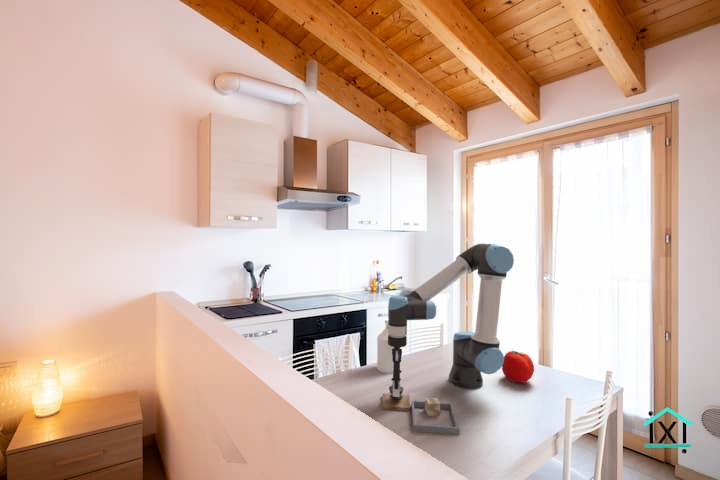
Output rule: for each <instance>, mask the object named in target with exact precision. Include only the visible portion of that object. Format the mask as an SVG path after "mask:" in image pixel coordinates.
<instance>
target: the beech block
mask: <svg viewBox="0 0 720 480" xmlns="http://www.w3.org/2000/svg"><path fill="white" fill-rule="evenodd" d="M424 411H425V412H426V413H427V416H441V408H440V401H439V399H438V397H425V407H424Z"/></svg>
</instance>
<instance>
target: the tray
mask: <svg viewBox="0 0 720 480" xmlns="http://www.w3.org/2000/svg"><path fill="white" fill-rule="evenodd" d="M439 402H440V401H439ZM415 408H425V401H424V400H411V415H412V417H411V418H412V419H411V420H412V427H413V428H412V430H413V432H422V433H424V432H425V433H437V434H446V435H447V434H448V435H460V434H461V433H460V432H461V429H460V425H459V422H458V418H457V416H456V412H455V409H454V406H453V402H440V409H443V410H449V411H450V416H451V418H452V421H453V424H454V426H445V425H434V424H433V425H432V424H419V423H418V424H417V422H416V412H415Z"/></svg>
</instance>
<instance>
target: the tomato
mask: <svg viewBox="0 0 720 480" xmlns="http://www.w3.org/2000/svg"><path fill="white" fill-rule="evenodd" d="M503 356H504V362H503V365H502V367H501V371H502V373H503V375H504V377H505V378H506V379H507V380H509V381H510V382H513V383H515V384H516V383H525V382H528V381H529V380H530V379H532V377H533V375H534V373H535V365H534V361H533V360H532V358H531V356H529V355H528V354H527V353H524V352H518V351H515V350H513V349H511V350H510V351H509V350H507V352H506V353H505V355H503Z"/></svg>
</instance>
